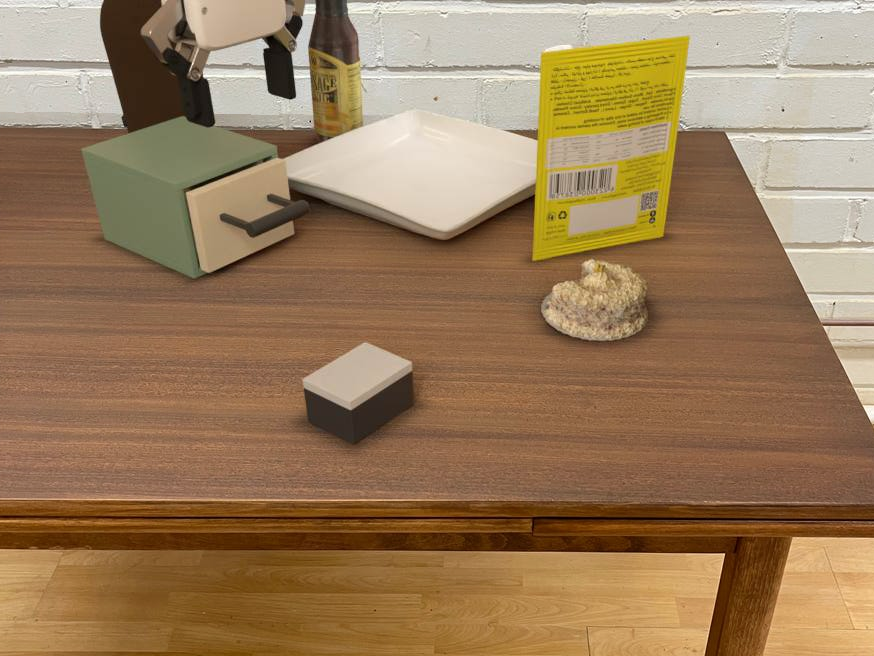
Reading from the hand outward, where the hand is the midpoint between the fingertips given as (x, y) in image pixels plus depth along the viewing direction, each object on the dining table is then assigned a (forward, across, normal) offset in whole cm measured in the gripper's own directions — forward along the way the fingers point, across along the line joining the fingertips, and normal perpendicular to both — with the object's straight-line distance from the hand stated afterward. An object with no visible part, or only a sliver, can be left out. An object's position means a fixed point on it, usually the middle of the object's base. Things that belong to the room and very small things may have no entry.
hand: (243, 109), depth 86 cm
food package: (+15, -24, +25) cm, 38 cm away
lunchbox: (+15, +13, +25) cm, 32 cm away
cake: (+15, -12, +32) cm, 37 cm away
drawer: (+14, 0, -6) cm, 15 cm away
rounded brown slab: (+15, -13, -30) cm, 37 cm away
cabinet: (+15, 0, -10) cm, 19 cm away
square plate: (+15, -25, +1) cm, 29 cm away
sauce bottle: (+15, -30, -18) cm, 38 cm away
